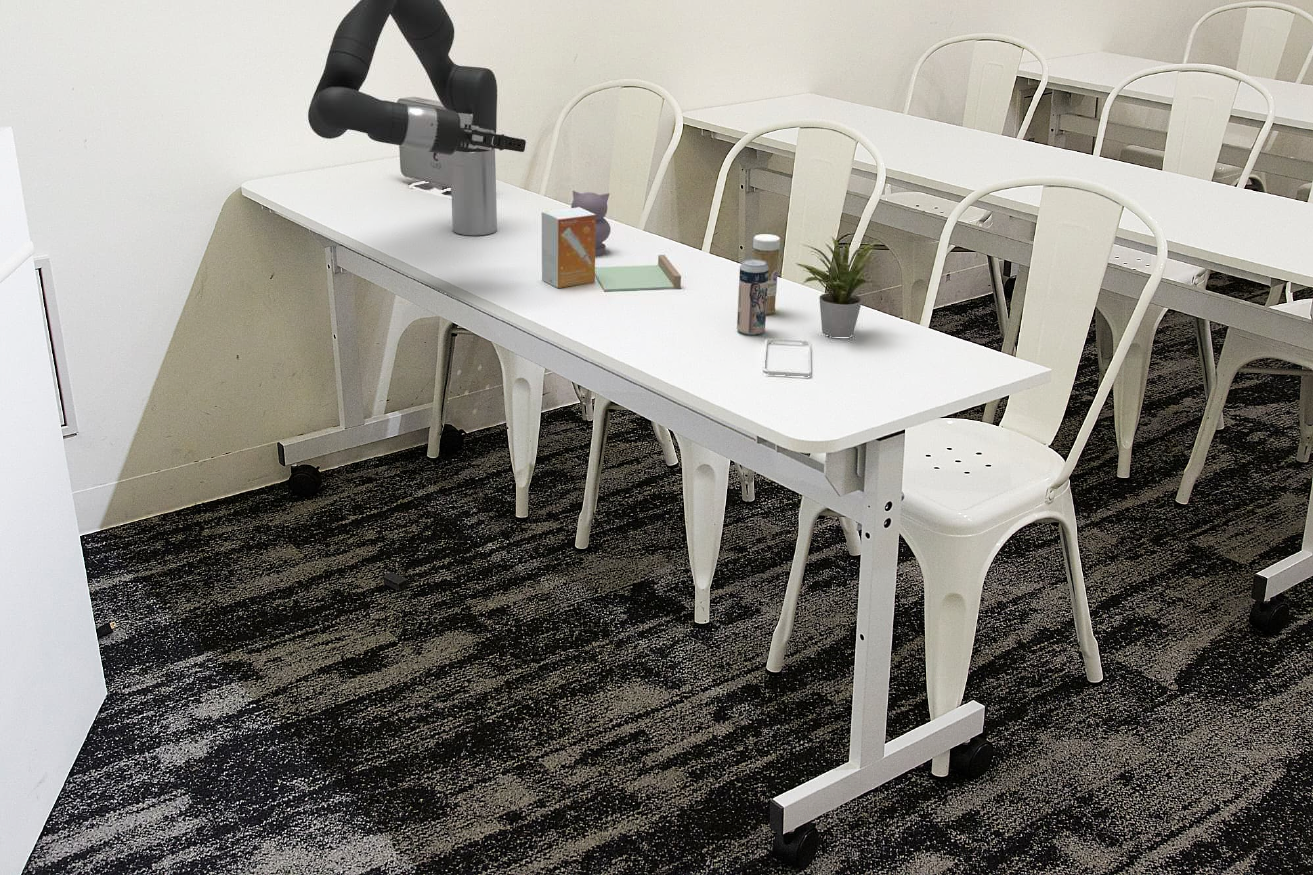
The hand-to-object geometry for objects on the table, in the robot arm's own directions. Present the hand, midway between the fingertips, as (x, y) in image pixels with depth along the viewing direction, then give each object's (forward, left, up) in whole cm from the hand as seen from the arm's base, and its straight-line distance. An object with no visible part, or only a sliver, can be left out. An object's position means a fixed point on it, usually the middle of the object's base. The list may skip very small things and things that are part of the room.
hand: (516, 144), depth 234 cm
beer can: (+34, +35, -25) cm, 55 cm away
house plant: (+36, +50, -25) cm, 67 cm away
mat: (+2, +21, -25) cm, 33 cm away
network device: (-72, -9, -25) cm, 77 cm away
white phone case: (+48, +37, -26) cm, 66 cm away
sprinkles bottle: (+24, +40, -25) cm, 53 cm away
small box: (+2, +9, -25) cm, 27 cm away
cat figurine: (-17, +16, -25) cm, 34 cm away
